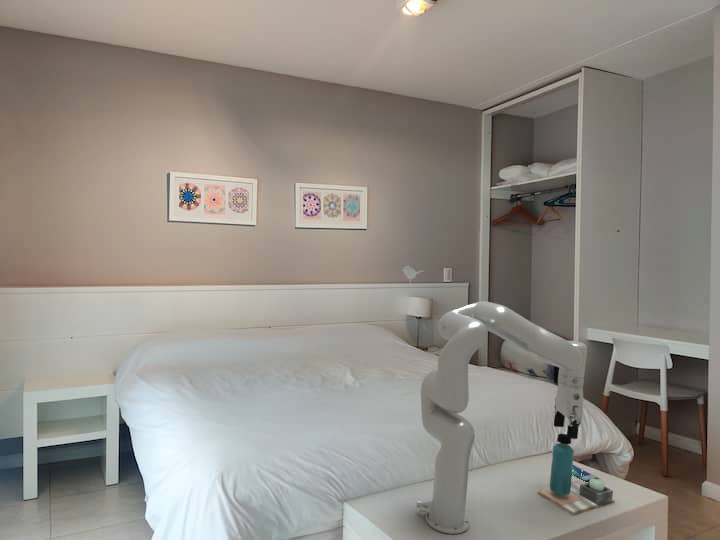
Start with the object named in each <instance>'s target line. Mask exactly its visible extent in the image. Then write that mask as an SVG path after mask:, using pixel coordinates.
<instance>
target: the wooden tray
mask: <svg viewBox="0 0 720 540" xmlns="http://www.w3.org/2000/svg"><path fill="white" fill-rule="evenodd" d="M570 493H571V494H573V495H574V496H576V497H578V498H580V499H581V500H579V501H576V502H572V503H569V504H566V505H563V506H561V505H559V504H557V503H556V502H554V501H552V500H551V499H549V498H547V497H546V496H544V495H542V494H541V493H539V491H537V495H539V496H541V497H543V498H544V499H546V500H548V501H550V502H551V503H553V504H554V505H556V506H558V507H559V508H561V509H562V510H564V511H566V512H568V513H569V514H571V515H572V516H576V515H579V514H582V513H585V512H588V511H591V510H594V509H597V508H600V507H604V506H606V505H610V504H613V503H615V501H616V500H615V499H614V498H613V495H614V490H613V489H611V488H609V487H607V486H605V485H604V491H603V492H600V493H597V492H596V491H594V490H592V489H590V488H589V482H588V483H586V482H584V483H583V481H581V480H576V481H572V483H571V489H570Z"/></svg>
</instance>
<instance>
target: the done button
mask: <svg viewBox="0 0 720 540" xmlns="http://www.w3.org/2000/svg"><path fill="white" fill-rule="evenodd" d="M604 486H605V481H603V480H601V479H600V478H599V479H594V478H592V479H590V482H589V488H590V489H592V490H594V491H596V492H597V493H600V492H603V491H604Z"/></svg>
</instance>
